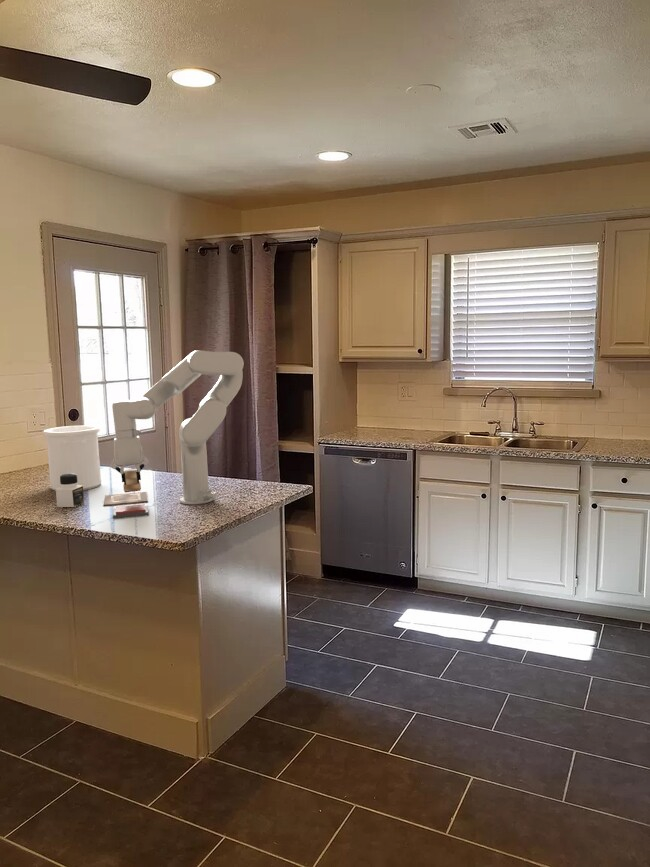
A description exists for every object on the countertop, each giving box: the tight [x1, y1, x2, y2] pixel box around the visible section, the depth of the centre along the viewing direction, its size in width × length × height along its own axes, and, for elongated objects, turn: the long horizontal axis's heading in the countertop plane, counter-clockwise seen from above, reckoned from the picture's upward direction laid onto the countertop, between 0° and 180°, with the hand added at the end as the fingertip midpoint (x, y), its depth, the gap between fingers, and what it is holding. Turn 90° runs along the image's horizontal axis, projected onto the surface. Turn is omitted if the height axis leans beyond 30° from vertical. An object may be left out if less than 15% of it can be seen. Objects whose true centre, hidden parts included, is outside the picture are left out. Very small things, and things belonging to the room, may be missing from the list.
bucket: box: [42, 424, 102, 492], centre depth 287 cm, size 26×22×25 cm
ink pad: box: [112, 503, 150, 519], centre depth 242 cm, size 12×10×2 cm
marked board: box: [103, 491, 149, 507], centre depth 264 cm, size 16×16×1 cm
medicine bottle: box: [55, 474, 85, 508], centre depth 256 cm, size 7×7×12 cm
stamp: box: [123, 468, 142, 493], centre depth 250 cm, size 6×6×8 cm
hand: (131, 482), depth 251 cm, fingers closed on stamp, 4 cm apart
